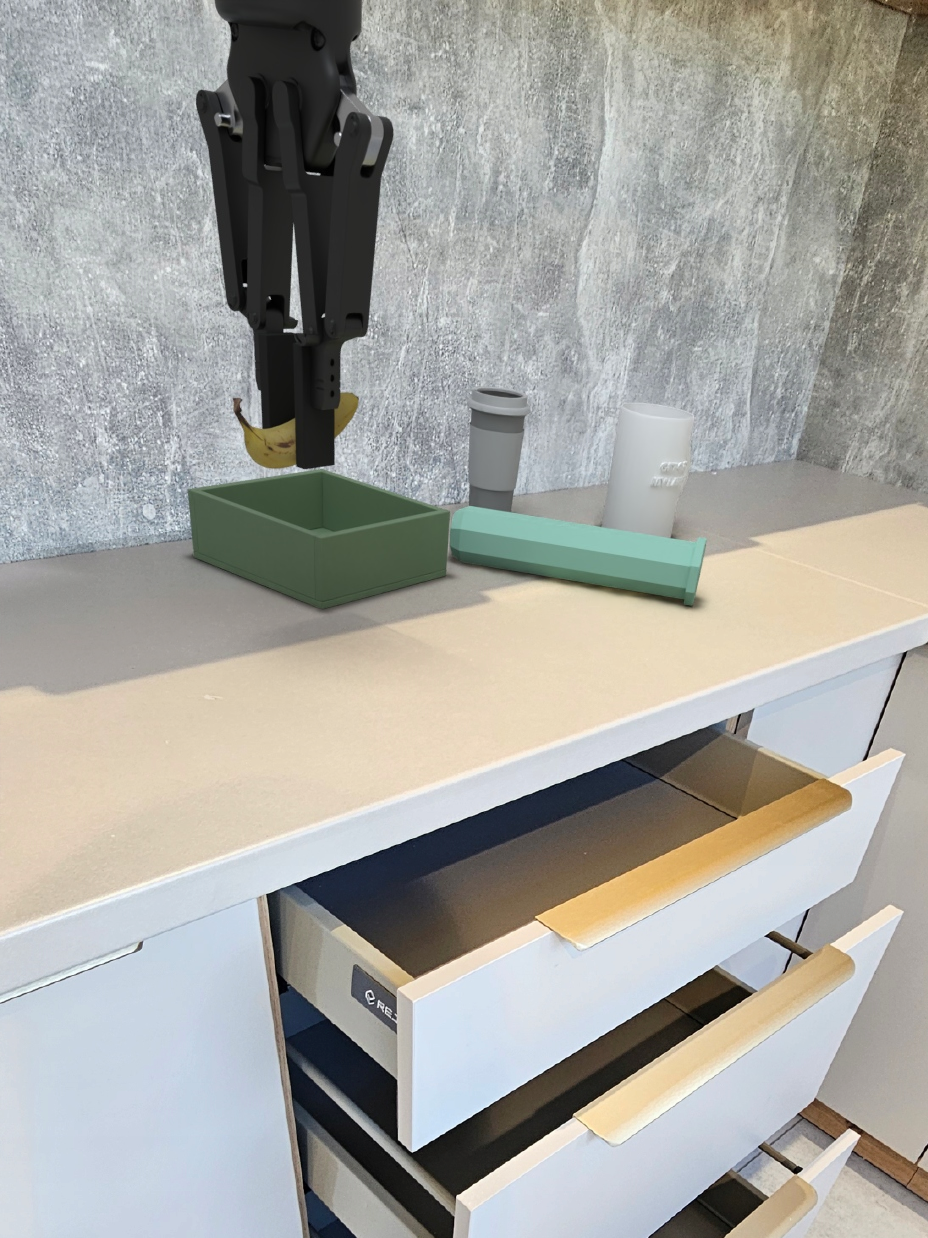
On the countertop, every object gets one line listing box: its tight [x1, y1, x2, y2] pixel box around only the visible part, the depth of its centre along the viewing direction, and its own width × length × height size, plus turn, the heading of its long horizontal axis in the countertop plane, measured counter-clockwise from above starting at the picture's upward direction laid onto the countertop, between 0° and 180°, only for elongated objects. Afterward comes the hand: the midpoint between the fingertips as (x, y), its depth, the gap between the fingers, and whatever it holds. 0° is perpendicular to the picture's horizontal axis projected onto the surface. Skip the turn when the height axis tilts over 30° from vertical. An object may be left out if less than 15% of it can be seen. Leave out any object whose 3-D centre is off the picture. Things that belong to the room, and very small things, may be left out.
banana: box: [232, 391, 360, 470], centre depth 65 cm, size 10×2×4 cm, turn 139°
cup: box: [466, 385, 531, 513], centre depth 109 cm, size 7×7×12 cm
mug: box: [601, 402, 695, 538], centre depth 111 cm, size 8×12×12 cm
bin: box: [187, 468, 451, 610], centre depth 92 cm, size 17×17×6 cm
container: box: [449, 505, 708, 607], centre depth 98 cm, size 6×6×25 cm
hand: (299, 459), depth 66 cm, fingers closed on banana, 2 cm apart
